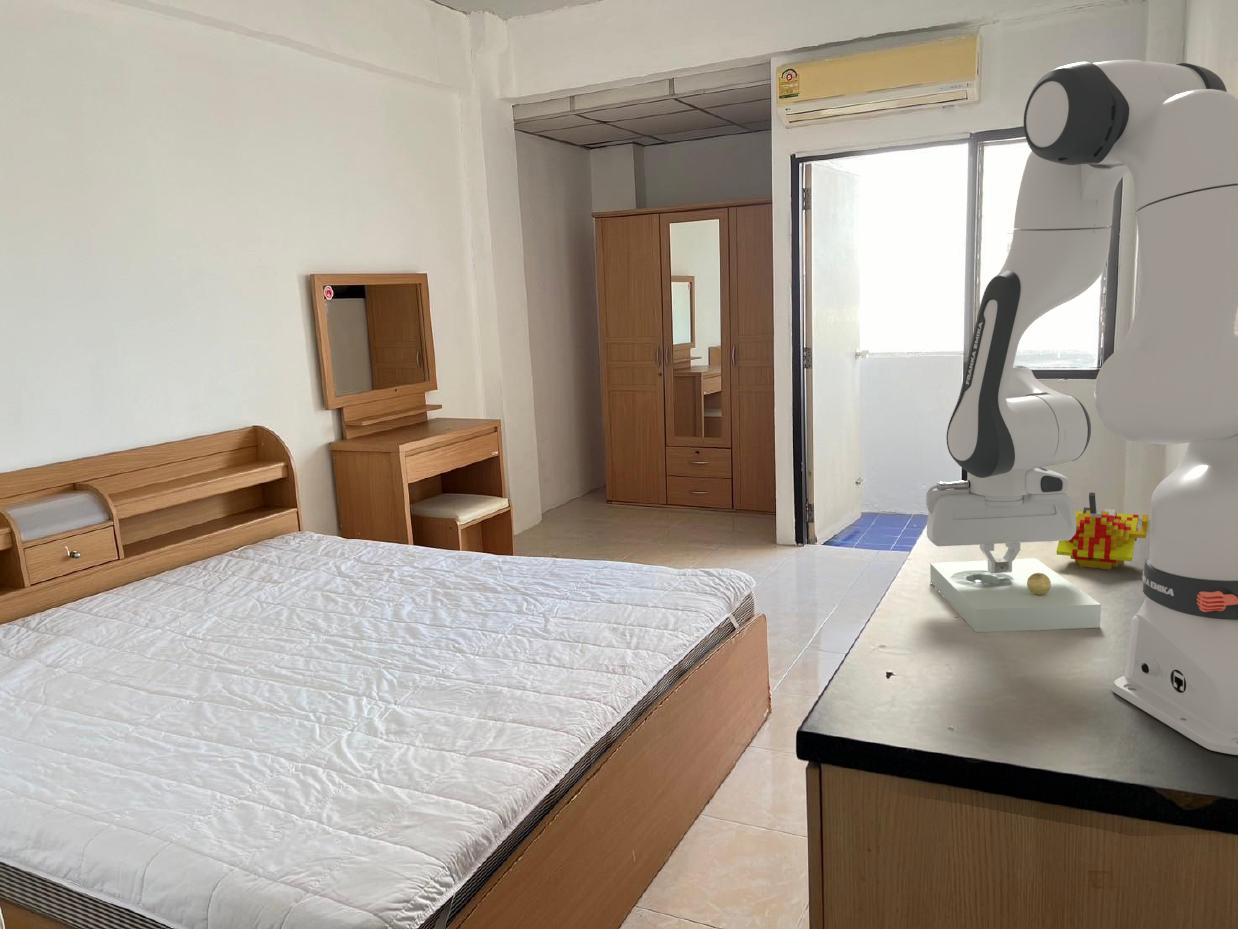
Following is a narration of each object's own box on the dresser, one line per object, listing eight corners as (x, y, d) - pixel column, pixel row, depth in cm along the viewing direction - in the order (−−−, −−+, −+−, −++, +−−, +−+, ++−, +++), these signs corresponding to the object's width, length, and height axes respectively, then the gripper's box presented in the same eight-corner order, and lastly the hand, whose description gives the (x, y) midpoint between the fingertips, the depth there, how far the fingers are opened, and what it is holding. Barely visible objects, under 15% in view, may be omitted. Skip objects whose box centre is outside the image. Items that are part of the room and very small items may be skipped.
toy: (1150, 545, 147) (1148, 476, 139) (1144, 589, 141) (1141, 519, 133) (1059, 538, 155) (1052, 472, 147) (1049, 579, 149) (1041, 512, 141)
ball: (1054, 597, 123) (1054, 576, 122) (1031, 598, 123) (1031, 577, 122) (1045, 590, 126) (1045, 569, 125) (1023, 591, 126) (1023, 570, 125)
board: (1100, 627, 119) (1100, 604, 119) (975, 632, 121) (976, 609, 120) (1035, 578, 141) (1035, 558, 140) (930, 582, 142) (930, 563, 142)
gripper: (932, 487, 127) (933, 581, 130) (1082, 479, 126) (1080, 575, 128) (920, 478, 134) (921, 568, 136) (1063, 471, 132) (1061, 562, 134)
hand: (999, 571), depth 132 cm, fingers closed
